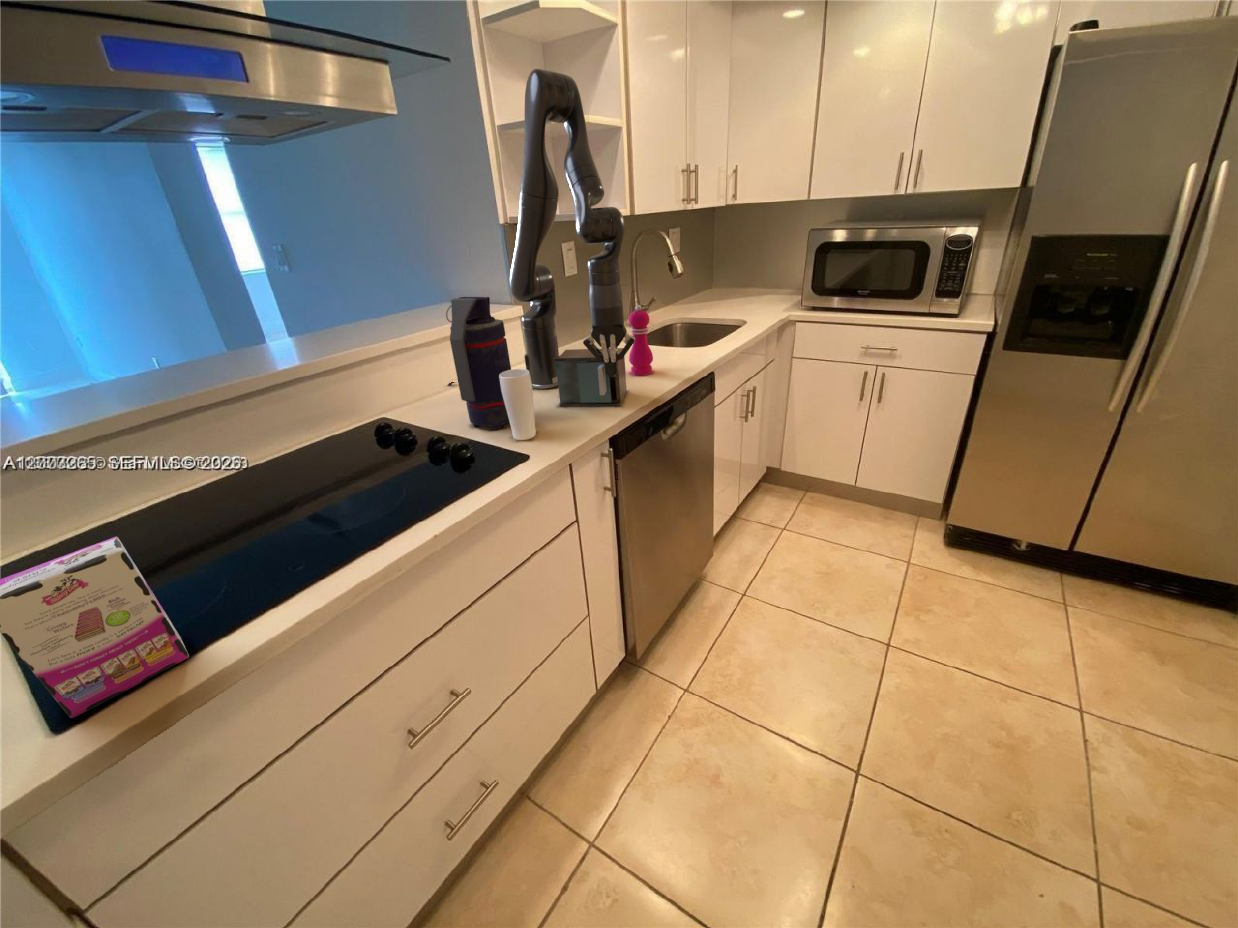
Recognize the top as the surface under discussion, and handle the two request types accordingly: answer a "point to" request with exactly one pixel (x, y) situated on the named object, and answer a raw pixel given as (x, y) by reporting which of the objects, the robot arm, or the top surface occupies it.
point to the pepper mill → (640, 343)
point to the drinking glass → (518, 402)
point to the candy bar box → (88, 625)
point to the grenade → (479, 359)
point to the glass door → (593, 382)
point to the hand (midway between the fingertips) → (612, 376)
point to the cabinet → (570, 382)
